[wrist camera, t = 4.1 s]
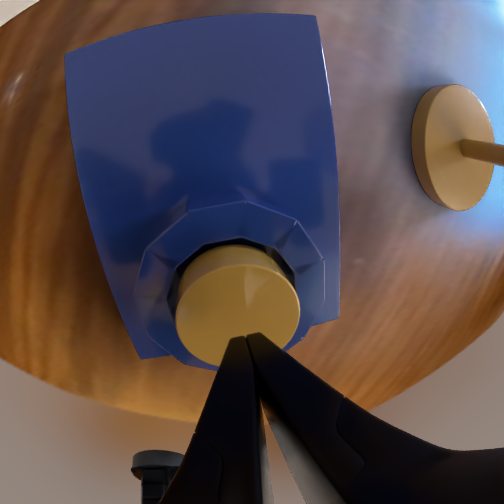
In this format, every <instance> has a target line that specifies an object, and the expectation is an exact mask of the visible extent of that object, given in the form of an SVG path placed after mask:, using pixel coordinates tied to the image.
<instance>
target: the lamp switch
mask: <svg viewBox="0 0 504 504" xmlns="http://www.w3.org/2000/svg"><path fill="white" fill-rule="evenodd" d="M299 318H300V303H299V299H298V295H297V293H296V291H295V289H294V288H293V286H292V284H291V283H290V281H289V280H288V278H287V277H286V275H285V274H284V272H283V271H282V269H281V268H280V266H279V265H278V264H277V262H276V261H275V260H274V259H273V258H272V257H271V256H269V255H268V254H267V253H265V252H263V251H262V250H260V249H257V248H255V247H251V246H247V245H240V244H230V245H223V246H219V247H215V248H213V249H210V250H208V251H206V252H204V253H202V254H201V255H199V256H198V257H197V258H195V259H194V260H193V261H192V262H191V263H190V264H189V265H188V267H187V268H186V269H185V271H184V273H183V274H182V276H181V279H180V281H179V285H178V291H177V303H176V316H175V324H176V330H177V333H178V336H179V338H180V340H181V342H182V343H183V345H184V346H185V347H186V349H187V350H188V351H189V352H190V353H191V354H193V355H194V356H195V357H197V358H198V359H200V360H202V361H204V362H206V363H209V364H211V365H215V366H220V363H221V361H222V358H223V355H224V353H225V350H226V347H227V345H228V342H229V340H230V338H232V337H237V336H242V335H243V336H245V337H246V335H247V334H252V333H256V332H261V333H262V334H263V335H265V336H266V337H267V338H268V339H270V340H271V341H272V342H274V343H275V344H276V345H277V346H279V347H280V348H281V349H282V348H283V347H285V346H286V344H287V343H288V342H289V341H290V339H291V338H292V336H293V335H294V333H295V331H296V329H297V326H298V323H299Z"/></svg>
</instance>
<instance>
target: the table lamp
mask: <svg viewBox="0 0 504 504" xmlns="http://www.w3.org/2000/svg"><path fill="white" fill-rule="evenodd" d="M411 147H412V156H413V162H414V166H415V170H416V173H417V176H418V179H419V181H420V183H421V185H422V187H423V189H424V190H425V192H426V193H427V194H428V196H429V197H430V198H431V199H432V200H433V201H434V202H436V203H438V204H439V205H442V206H444V207H447V208H450V209H452V210H455V211H465V210H468V209H470V208H472V207H473V206H475V205H476V204H477V203H478V202H479V201H480V200H481V198H482V197H483V196H484V194H485V192H486V190H487V188H488V186H489V183H490V181H491V177H492V173H493V168H494V164H495V165H499V166H503V167H504V145H501V144H496V143H494V135H493V130H492V126H491V122H490V120H489V117H488V114H487V112H486V110H485V108H484V106H483V105H482V103H481V102H480V100H479V99H478V98H477V97H476V95H475V94H474V93H472V92H471V91H470V90H469V89H467V88H465V87H463V86H461V85H456V84H453V85H439V86H435V87H433V88H431V89H430V90H428V91H427V92H426V93H425V94H424V95H423V97H422V98H421V100H420V102H419V103H418V105H417V108H416V111H415V114H414V118H413V123H412V132H411Z"/></svg>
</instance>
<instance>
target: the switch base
mask: <svg viewBox="0 0 504 504" xmlns="http://www.w3.org/2000/svg"><path fill="white" fill-rule="evenodd" d="M64 59H65V83H66V97H67V108H68V117H69V125H70V133H71V139H72V146H73V152H74V158H75V163H76V168H77V173H78V178H79V183H80V188H81V192H82V196H83V201H84V205H85V209H86V213H87V216H88V220H89V224H90V227H91V231H92V235H93V238H94V241H95V245H96V248H97V251H98V254H99V257H100V260H101V263H102V266H103V269H104V272H105V275H106V278H107V281H108V284H109V286H110V289H111V292H112V294H113V297H114V300H115V302H116V305H117V307H118V310H119V312H120V315H121V317H122V320H123V322H124V324H125V327H126V329H127V331H128V334H129V336H130V338H131V340H132V342H133V345H134V347H135V349H136V351H137V353H138V355H139V357H140V359H149V358H156V357H163V356H170V355H172V356H173V357H175V358H176V359H177V360H179V361H180V362H181V363H183V364H185V365H190V366H194V367H199V368H204V369H209V370H215V371H218V369H219V366H215V365H211V364H209V363H206V362H204V361H202V360H200V359H198V358H197V357H195V356H194V355H193V354H191V353H190V352H189V351H188V350H187V349H186V347H185V346H184V345H183V343H182V342H181V340H180V338H179V336H178V333H177V330H176V324H175V316H176V303H177V291H178V285H179V281H180V279H181V276H182V274H183V273H184V271H185V269H186V268H187V267H188V265H189V264H190V263H191V262H192V261H193V260H194V259H195V258H197V257H198V256H199V255H201V254H202V253H204V252H206V251H208V250H210V249H213V248H215V247H219V246H223V245H230V244H240V245H247V246H251V247H255V248H257V249H260V250H262V251H263V252H265V253H267V254H268V255H269V256H271V257H272V258H273V259H274V260H275V261H276V262H277V264H278V265H279V266H280V268H281V269H282V271H283V272H284V274H285V275H286V277H287V278H288V280H289V281H290V283H291V284H292V286H293V288H294V289H295V291H296V293H297V295H298V299H299V303H300V318H299V323H298V326H297V329H296V331H295V333H294V335H293V336H292V338H291V339H290V341H289V342H288V343H287V344H286V346H285V347H283V348H282V350H284V351H285V352H286V351H287V350H288V349H290V348H291V347H293V346H294V345H295V344H297V343H298V342H300V341H301V340H302V339H303V338H304V337H305V336H306V334H307V332H308V331H309V329H310V327H311V326H313V325H317V324H321V323H324V322H328V321H331V320H335V319H338V318H339V307H340V209H339V188H338V172H337V158H336V146H335V136H334V126H333V117H332V109H331V101H330V93H329V86H328V79H327V73H326V67H325V61H324V55H323V49H322V44H321V39H320V34H319V29H318V24H317V19H316V16H314V15H301V14H278V13H255V14H232V15H220V16H209V17H201V18H193V19H187V20H180V21H175V22H169V23H164V24H159V25H154V26H150V27H146V28H142V29H138V30H134V31H130V32H126V33H123V34H119V35H116V36H113V37H109V38H106V39H103V40H100V41H97V42H95V43H92V44H89V45H86V46H84V47H81V48H78V49H76V50H73V51H71V52H68V53H66V54H65V55H64Z"/></svg>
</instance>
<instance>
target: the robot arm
mask: <svg viewBox="0 0 504 504" xmlns="http://www.w3.org/2000/svg"><path fill="white" fill-rule="evenodd" d="M261 404H262V406H261ZM262 408H263V410H264V413H265V415H266V418H267V420H268V422H269V425H270V427H271V429H272V431H273V433H274V436H275V438H276V440H277V442H278V445H279V447H280V449H281V451H282V454H283V456H284V458H285V460H286V462H287V464H288V466H289V469H290V471H291V473H292V475H293V477H294V479H295V481H296V483H297V485H298V488H299V490H300V491H301V494H302V496H303V498H304V500H305V502H306V504H504V448H495V449H484V450H470V451H459V450H450V449H445V448H442V447H439V446H436V445H433V444H431V443H429V442H427V441H424V440H422V439H420V438H418V437H415V436H413V435H411V434H409V433H407V432H405V431H403V430H400V429H398V428H396V427H394V426H392V425H390V424H388V423H386V422H384V421H383V420H381V419H379V418H377V417H375V416H373V415H372V414H370V413H369V412H367V411H366V410H364V409H363V408H361V407H359V406H358V405H356V404H355V403H354V402H352V401H351V400H349V399H348V398H347V397H345V398H344V396H343V395H342V394H341V393H339V392H338V391H337V390H335V389H334V388H333V387H331V386H330V385H328V384H327V383H326V382H324V381H323V380H322V379H320V378H319V377H318V376H316V375H315V374H314V373H312V372H311V371H310V370H308V369H307V368H306V367H304V366H303V365H302V364H300V363H299V362H298V361H297V360H295V359H294V358H293V357H291V356H290V355H289V354H287V353H286V352H285V351H284V350H282V349H281V348H280V347H279V346H277V345H276V344H275V343H274V342H272V341H271V340H270V339H268V338H267V337H266V336H265V335H263V334H262V333H261V332H256V333H252V334H247V335H246V337H245V336H243V335H242V336H237V337H232V338H230V340H229V342H228V345H227V347H226V350H225V353H224V355H223V358H222V361H221V363H220V366H219V369H218V371H217V374H216V377H215V379H214V382H213V384H212V387H211V390H210V392H209V395H208V398H207V400H206V403H205V405H204V408H203V411H202V413H201V416H200V418H199V421H198V424H197V426H196V429H195V433H194V434H193V436H192V439H191V442H190V444H189V447H188V449H187V451H186V453H185V456H184V458H183V460H182V462H181V464H180V466H169V467H132V468H131V472H132V473H133V474H134V475H136V476H137V477H138V478H139V479H140V480H141V504H274V501H273V493H272V485H271V477H270V469H269V461H268V452H267V445H266V436H265V428H264V419H263V412H262Z"/></svg>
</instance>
